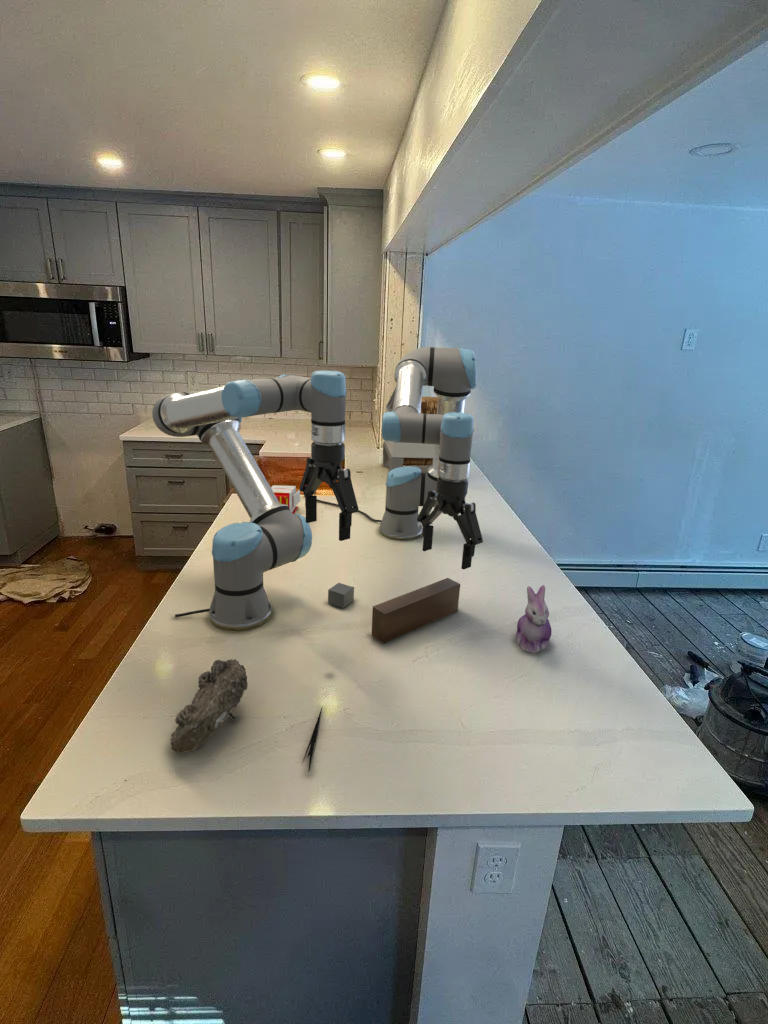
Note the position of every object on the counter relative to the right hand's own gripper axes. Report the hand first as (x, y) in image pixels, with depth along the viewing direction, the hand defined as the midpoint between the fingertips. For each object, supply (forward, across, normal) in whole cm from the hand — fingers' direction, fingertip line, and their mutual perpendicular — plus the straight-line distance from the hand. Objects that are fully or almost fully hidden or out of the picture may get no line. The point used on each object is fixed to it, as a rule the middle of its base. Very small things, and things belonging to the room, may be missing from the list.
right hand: (445, 558), depth 144 cm
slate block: (+16, -20, -18) cm, 31 cm away
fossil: (+16, +2, -64) cm, 66 cm away
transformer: (+14, -100, +88) cm, 134 cm away
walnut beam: (+16, 0, -9) cm, 18 cm away
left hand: (-9, -14, -27) cm, 32 cm away
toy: (+15, -84, +2) cm, 86 cm away
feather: (+16, +14, -49) cm, 53 cm away
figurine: (+16, +24, +7) cm, 29 cm away
